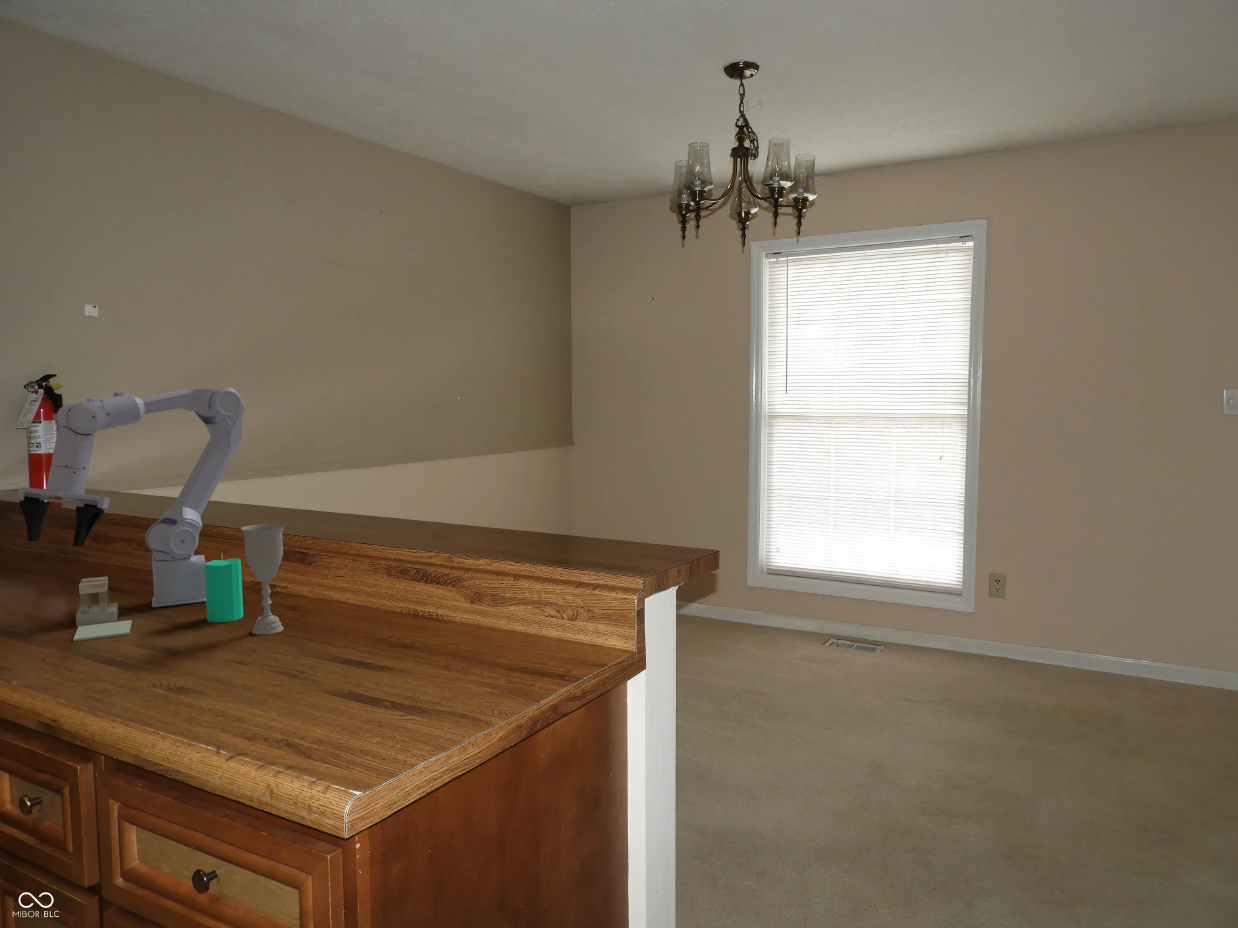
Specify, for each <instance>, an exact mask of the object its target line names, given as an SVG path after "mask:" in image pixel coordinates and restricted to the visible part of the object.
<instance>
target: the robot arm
mask: <svg viewBox="0 0 1238 928" xmlns="http://www.w3.org/2000/svg"><path fill="white" fill-rule="evenodd" d="M178 409H184V410H186V411H189V412H194V414H195V415H196V417H198V419H199V420H200V421H201V423H203V425H204V426H205V427H206V430H207V432H208V433H209V437H210V438H209V440H208V442H207V443H206V445H205V448H204V449H203V451H202V453H201V454H200V456H199V458H198V460H197V461H196V464H195V465H194V467H193V469H192V471H191V473H190V474H189V476H188V479H187V480H186V482H185V483H184V485H183V487H182V489H181V491H180V492H179V494H178V495H177V498H176V500H175V501H174V503H173V505H172V506H171V507H170V508H168V509H167V510H165V511H164V512H163V513H162V514H161V516H160V518H159V519H158V520H157V521H156V522H155V523H153V524H152V525H151V526H150V527H149V528H148V529H147V531H146V534H145V543H146V545H147V547H148V549H150V550H151V551H152V555H151V562H152V563H151V564H152V577H153V579H152V582H153V596H152V599H151V600H152V602H151V607H152V608H160V607H168V606H177V605H184V604H185V605H186V604H193V603H194V604H195V603H203V602H206V590H205V571H204V563H206V562H205V561H206V560H205V558H206V557H205V555H204V554H198V555H197V554H196V555H195V554H194V552H195V550H197V548H198V545H199V539H200V538H199V536H200V532H201V530H202V528H203V523H202V517H201V515H202V514H203V512H204V510H205V509H206V506H207V505H208V503H209V502H210V499H211V498H212V495H213V493H214V492H215V490H216V488H217V486H218V484H219V482H220V480H221V479H222V477H223V475H224V473H225V471H226V469H227V468H228V466H229V464H230V462H231V460H232V458H233V456H234V454H235V453H236V452H237V449H238V447H239V446H240V444H241V441H242V438H243V416H244V414H245V412H246V410H247V408H246V405H245V403H244V400H243V398H242V397H241V394H240V393H239V392H238V391H237V390H236V389H234V388H232V387H226V386H225V387H221V388H218V387H217V388H215V387H214V388H213V387H212V388H210V387H203V388H184V389H183V388H181V389H176V390H173V391H170V392H163V393H158V394H155V395H149V396H145V397H141V398H140V397H137V396H136V395H134V394H132V393H125V392H124V391H117V392H115V391H114V392H113V395H112V396H107V397H101V398H96V399H95V397H93V396H92V397H91V396H90V397H87V398H86V399H85V401H83V402H68V403H66V404H63V406H61V407H60V408H59V409H58V411H57V413H56V414H54V415H53V416H54V417H53V420H54V423H55V425H56V427H57V428H58V429H57V434H56V438H55V441H54V447H53V451H52V452H53V453H52V458H51V463H50V467H49V474H48V479H47V485H46V489H41V488H33V487H24V486H20V487H18V493H17V498H18V499H22V500H19V502H18V505H19V507H20V509H21V511H22V515H23V517H24V520H25V526H26V534H27V541H28V542H39V540H40V537H41V534H42V527H43V522H44V519H45V516H46V514H47V511H48V510H49V509H48V508H49V507H50V505H51V502H52V503H60V504H69V505H70V504H71V505H76V507H75V512H76V513H75V514H76V520H75V522H76V523H75V524H76V525H75V530H74V535H73V544H72V545H73V547H84V545H85V543H86V540H87V538H88V536H89V535H90V532H91V531H92V529H93V528H94V526H95V524H96V523H97V522H98V521H99V519H100V518H101V517H102V516H103V515H104V513H105V509H109V507H110V501H111V497H105V496H97V495H91V494H85V491H86V487H87V486H86V484H87V480H88V476H89V475H88V474H89V469H90V464H91V459H92V453H93V449H94V448H93V447H94V442H95V440H94V439H95V436H96V434H97V433H98V432H99V431H100V430H102V431H103V430H108V429H109V430H110V429H113V428H115V429H116V428H119V427H124V426H127V425H133V424H139V422H140V421H141V420H142V418H143V417H144V416H145V415H149V414H155V413H159V412H160V413H161V412H166V411H167V412H168V411H172V410H178ZM56 497H60V498H66V499H67V498H68V499H72V500H66V499H58V498H57V499H56ZM77 505H79V506H77Z"/></svg>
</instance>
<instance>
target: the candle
mask: <svg viewBox="0 0 1238 928" xmlns="http://www.w3.org/2000/svg"><path fill="white" fill-rule="evenodd" d="M223 558H224V557H223V552H221V560H220V559H218V560H217V559H213V560H211V561H209V562H205V563H204V571H205V590H206V601H205V605H206V606H205V607H206V608H205V609H206V621H208V622H209V623H226V622H227V623H228V622H233V621H237V620H240V619H242V618H243V617H244V604H243V602H244V601H243V600H244V599H243V581H242V580H243V579H242V563H241V562H242V561H241V559H240V558H235V557H234V558H233V557H232V558H228V559H223Z"/></svg>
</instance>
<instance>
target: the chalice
mask: <svg viewBox="0 0 1238 928" xmlns="http://www.w3.org/2000/svg"><path fill="white" fill-rule="evenodd" d="M285 527H286V524H283V523H259V524H252V525H251V524H250V525H245V526H243V527H240V530H241V532H242V533H243V536H244V537H243V539H244V540H243V541H244V555H245V556H244V557H245V559H246V562H247V564H248V566H249V567H248V568H250V570H251V572H252V574H253V575H254V577H255V579H256V580H257V581H261V582H262V590H261V594H262V596H263V599H262V601H261V602H260V603H261V605H262V607H263V609H264V610H263V614H261V615H262V616H259V617H258V618H257V619H256V621H255V624H254V625H253V627H254V628H253V630H252V631H251V632H252V634H254V635H271V634H276V633H279V632H282V631H283V630H284V627H283V625H282V622H281V621H280V618H279V617H278V616H277V615H275V614H274V615H273V613H272V612H271V604H273V601H272V600H271V599H270V594H271V592H272V590H271V589H270V585H269V584H270V580H272V579H274V578H275V577H276V574H277V572H278V570H279V567H280V565H281V563H282V559H283V555H284V543H283V532H284V529H285Z"/></svg>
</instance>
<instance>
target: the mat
mask: <svg viewBox="0 0 1238 928" xmlns="http://www.w3.org/2000/svg"><path fill="white" fill-rule="evenodd" d="M132 623H133V622H132V619H130V620H121V621H116V622H109V623H100V624H92V625H83V626H77V629H76V632H75V634H74V636H73V639H72V641H73V642H81V641H89V640H97V639H106V638H112V637H121V636H128V635H130V633H131V627H132Z"/></svg>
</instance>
